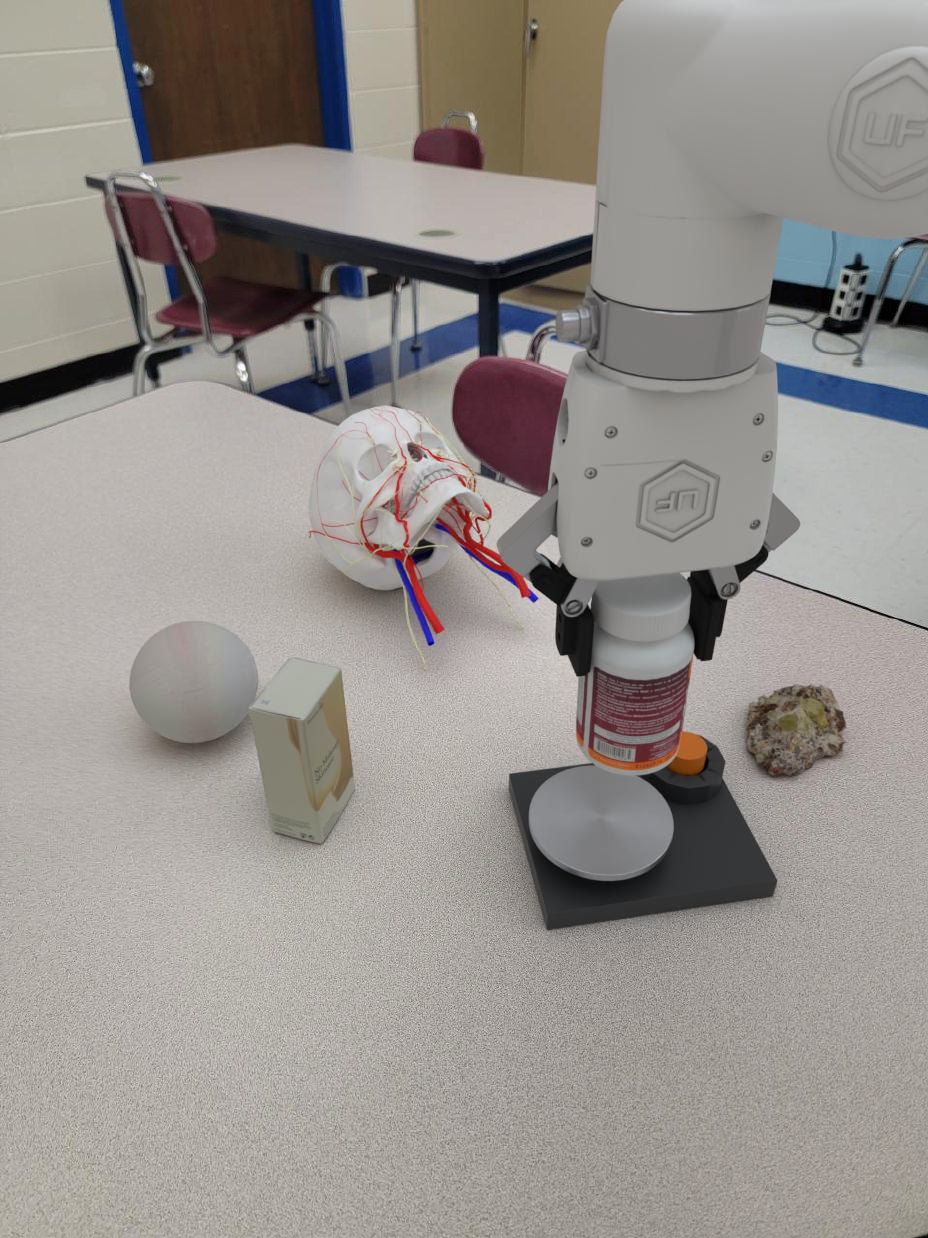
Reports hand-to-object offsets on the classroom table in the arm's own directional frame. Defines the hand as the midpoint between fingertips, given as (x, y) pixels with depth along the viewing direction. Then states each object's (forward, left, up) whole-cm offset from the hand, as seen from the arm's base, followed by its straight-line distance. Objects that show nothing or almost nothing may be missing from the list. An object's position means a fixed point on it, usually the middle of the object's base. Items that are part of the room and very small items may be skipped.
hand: (636, 650), depth 50 cm
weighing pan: (0, -4, -18) cm, 18 cm away
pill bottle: (0, 0, -7) cm, 7 cm away
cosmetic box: (+20, -12, -22) cm, 31 cm away
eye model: (+29, -23, -22) cm, 42 cm away
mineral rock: (-19, -13, -22) cm, 32 cm away
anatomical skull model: (+9, -39, -22) cm, 45 cm away
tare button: (-8, -9, -18) cm, 22 cm away
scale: (-3, -5, -21) cm, 22 cm away
